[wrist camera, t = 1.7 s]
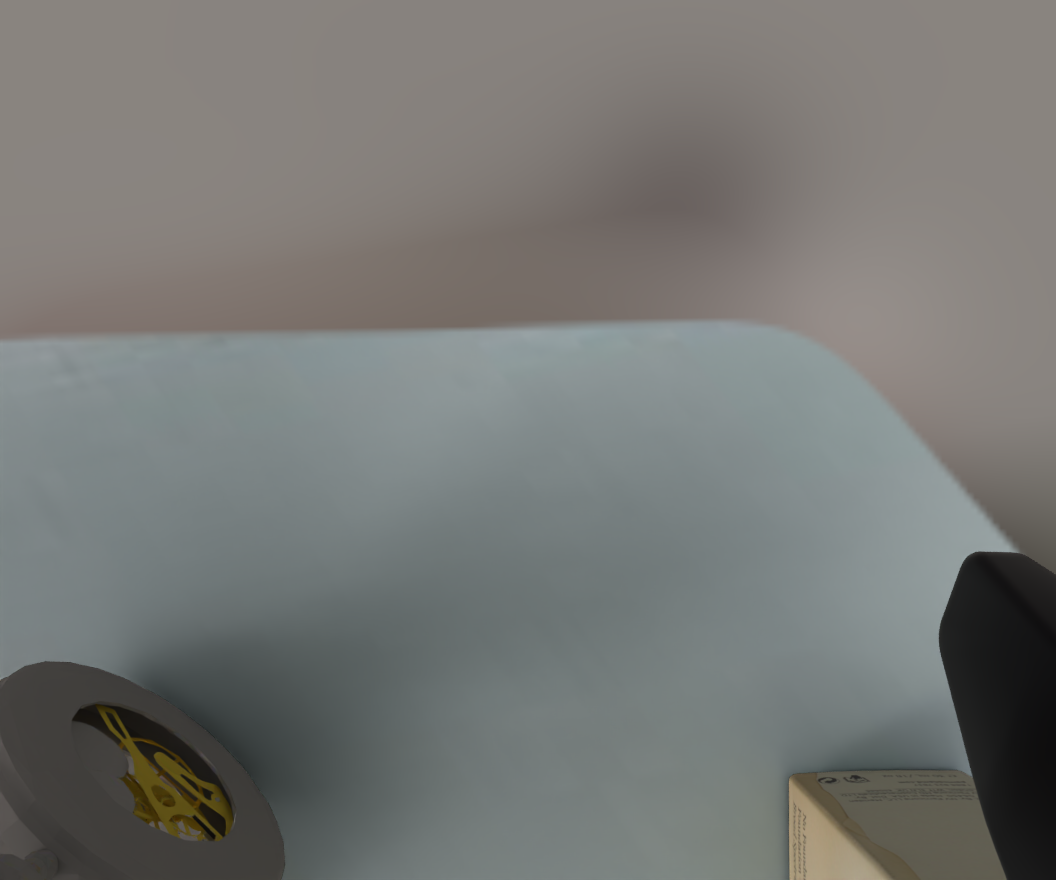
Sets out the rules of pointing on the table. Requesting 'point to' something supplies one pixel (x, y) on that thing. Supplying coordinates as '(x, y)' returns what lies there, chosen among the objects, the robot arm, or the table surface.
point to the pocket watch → (121, 786)
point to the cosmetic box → (889, 827)
